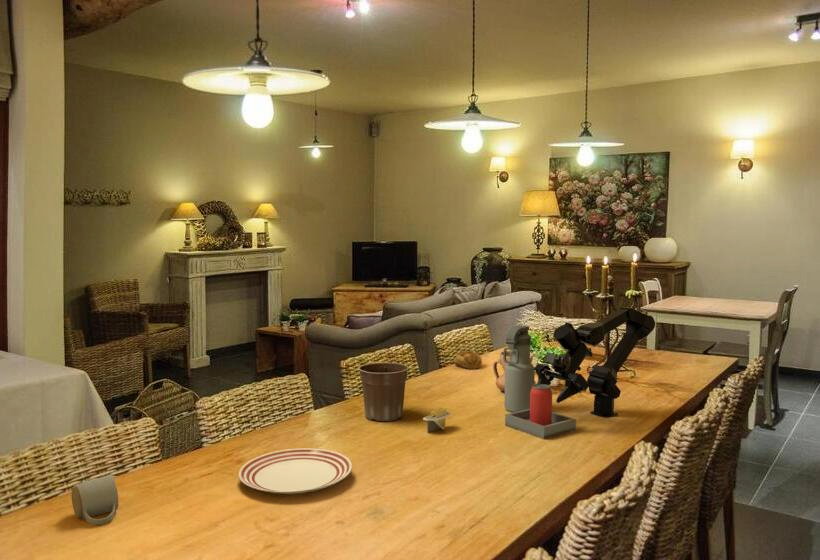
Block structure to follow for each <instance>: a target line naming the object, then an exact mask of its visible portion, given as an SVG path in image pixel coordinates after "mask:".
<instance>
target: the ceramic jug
mask: <svg viewBox="0 0 820 560" xmlns="http://www.w3.org/2000/svg"><path fill="white" fill-rule="evenodd" d="M503 355H504V350H503V351H500V352H499V357H500V358H498V359H495V360H494V361H493V363H492V369H493V370H492V371H493V374H494V376H495V378H496V380H495V386H496V387H497V389H498V390H500V391H502V392H504V393H505V366H506V365H507V364H508V363H505V362H504V360H503ZM506 360H507V361H509V362H510V350H506ZM533 360H534V354H533V353H531V352H530V363H531V364H532V365H533V366H534V368H535V367H536V365H537V364H536V363H533ZM498 364H499V365H501V367H502V369H503V371H504V373H503V374H502V375H499V372H498ZM534 384H537V383H536V380H535V379H534Z"/></svg>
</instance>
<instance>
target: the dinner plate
mask: <svg viewBox="0 0 820 560" xmlns="http://www.w3.org/2000/svg"><path fill="white" fill-rule="evenodd" d="M351 461H352V460H350V458H348V457H347V456H346V455H344V454H343V453H339V452H336V451H332V450H328V449H323V448H309V447H308V448H307V447H306V448H305V447H304V448H302V447H301V448H289V449H282V450H276V451H271V452H268V453H265V454H262V455H258V456H256V457H255V458H252V459H251V460H248V461H247V462H246V463H245V464H243V465H242V466H241V467H240V469H239V471H238V479H239V480H240V482H241V483H242V484H243V485H245V486H247V487H249V488H251V489H253V490H257V491H261V492H266V493H272V494H281V495H283V494H286V495H297V494H298V495H299V494H304V493H311V492H315V491H319V490H323V489H326V488H329V487H331V486H334V485H335V484H338V483H339V482H341V481H343V480H344V479H345V478H347V477H348V476H349V475H350V473H351V472H352V469H353V464H352V462H351Z"/></svg>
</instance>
